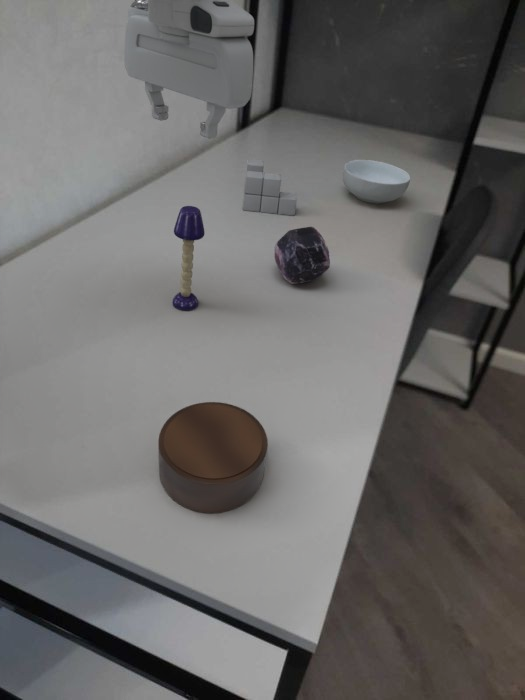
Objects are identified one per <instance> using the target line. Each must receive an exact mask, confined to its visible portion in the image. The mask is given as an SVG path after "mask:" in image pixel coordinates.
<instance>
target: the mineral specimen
mask: <svg viewBox="0 0 525 700" xmlns="http://www.w3.org/2000/svg"><path fill="white" fill-rule="evenodd" d="M273 255H274V256H273V257H274V261H275V264H276V266H277V268H278V270H279V272H280V274H281V276H282V278H283V279H285V280H286V281H287V282H288V283H290V284H291V285H295V284H302V283H307V282H312V281H315V280H317V279H318V278H320V277H321V276H322V275H323V274H325V273H326V272H327V271H328V270H329V269H330V266H331V259H330V249H329V247H328V245H327V243H326V240H325V239H324V236H323V235H322V234H321V232H320V231H319V230H317V229H316V228H315V227H314V226H306V227H305V226H304V227H299V228H293V229H290V230H287V232H286V233H285V234H284V235H282V236H281V237H280V238H279V239H278V240H277V241H276V243H275V245H274V254H273Z"/></svg>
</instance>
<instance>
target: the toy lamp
mask: <svg viewBox="0 0 525 700" xmlns="http://www.w3.org/2000/svg"><path fill="white" fill-rule="evenodd" d="M173 234H174V235H175V237H177V238H178V239H180V240H182V242H183V243H182V246H181V247H182V254H181V260H182V262H181V272H180V276H181V279H180V289H179V292H178V293H176V294H175V295H174V296H173V298H172V306H173V307H174V308H175V309H178V310H179V311H192V310H194V309H197V307H198V306H199V300H198V297H197V296H196V295H195V294H194V293H192V288H191V287H192V283H193V281H192V278H193V268H194V263H193V261H194V251H195V245H194V244H195V241H199V240H201V239H203V238H204V236H205V225H204V221H203V217H202V211H201V209H200V208H198V207H196V206H193V205H185V206H182V207H181V208H180V210H179V212H178V214H177V218H176V222H175V224H174V228H173Z"/></svg>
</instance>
